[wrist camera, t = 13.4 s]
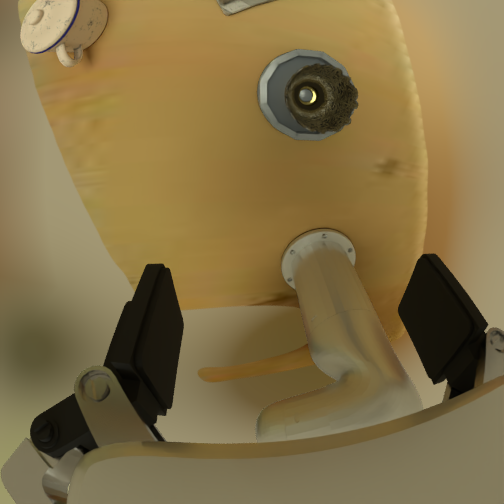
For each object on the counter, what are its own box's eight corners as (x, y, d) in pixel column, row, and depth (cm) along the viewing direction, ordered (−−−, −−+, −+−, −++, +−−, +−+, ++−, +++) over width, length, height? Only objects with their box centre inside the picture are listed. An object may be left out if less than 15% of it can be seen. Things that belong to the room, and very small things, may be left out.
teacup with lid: (54, 20, 18) (4, 14, 9) (105, -12, 18) (61, -33, 8) (67, 80, 25) (14, 89, 16) (120, 51, 24) (73, 43, 15)
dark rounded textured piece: (290, 58, 26) (304, 50, 20) (342, 84, 28) (369, 85, 21) (266, 109, 30) (273, 115, 23) (319, 132, 32) (339, 145, 25)
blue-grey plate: (346, 140, 33) (352, 144, 31) (257, 137, 33) (258, 140, 31) (350, 57, 26) (357, 55, 24) (256, 48, 26) (257, 45, 24)
